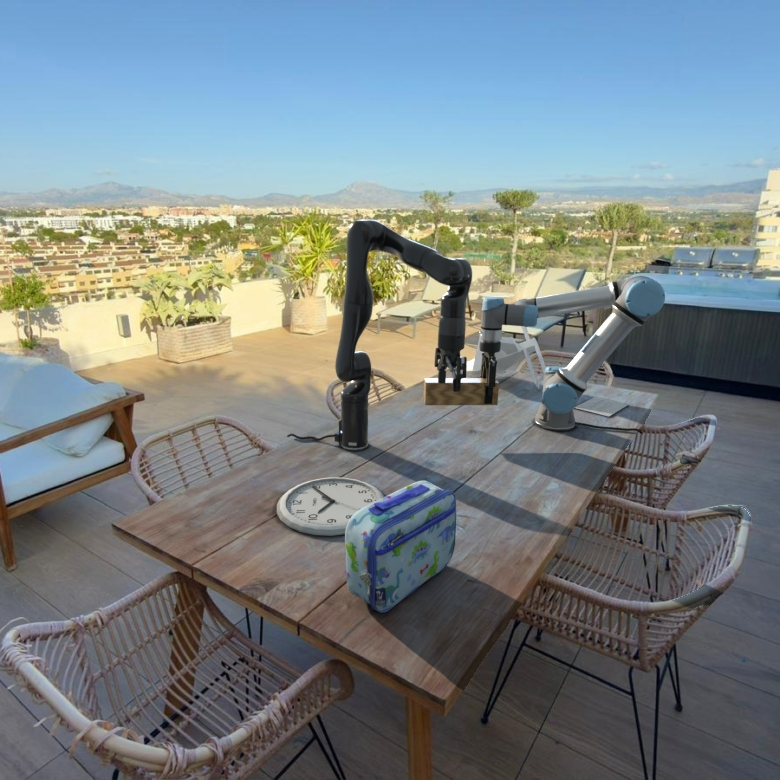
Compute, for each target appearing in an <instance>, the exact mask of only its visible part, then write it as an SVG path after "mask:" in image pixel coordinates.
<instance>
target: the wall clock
mask: <svg viewBox="0 0 780 780" xmlns="http://www.w3.org/2000/svg"><path fill="white" fill-rule="evenodd" d="M384 497H386V495H385V494H384V493H383V492H382V491H381V490H380V489H379V488H377V487H376V486H374V485H372V484H371V483H369V482H365V481H362V480H359V479H355V478H349V477H338V476H337V477H335V476H333V477H332V476H331V477H322V478H317V479H312V480H307V481H305V482H302V483H299V484H297V485H295V486H293V487H292V488H290V489H288V490H287V491H286V492H285V493H284V494H283V495H281V496H280V498H279V499H278V502H277V503H276V515H277V517H278V518H279V520H280V521H281V522H282V523H283V524H285V525H286V526H287V527H288V528H290V529H293V530H295V531H297V532H299V533H303V534H308V535H312V536H327V537H328V536H329V537H331V536H332V537H333V536H342V535H345V531H346V527H347V524H348V522H349V520H350V518H351V517H352V515H353V514H354V513H355V512H357V511H358V510H360V509H362V508H364V507H366V506H368V505H370V504H372V503H374V502H376V501H378V500H380V499H382V498H384Z"/></svg>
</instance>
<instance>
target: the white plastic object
mask: <svg viewBox="0 0 780 780" xmlns="http://www.w3.org/2000/svg"><path fill="white" fill-rule="evenodd" d="M521 329H522V332H523V336H524V338H525V341H522V342H519V343H518V342H516V340H515V339H514V337H513V336H510V337H505V338H501V340H500V342H501V348H500V351H499V352H496V353H495V357H496V361H497V366H496V376H500V375H502V374H505V373H506V372H507V370H508V369H509V368H511V367H512V366H513V365H515V364H517V363H518V362H520V361H521V360H522V359H523V358H524V357H525V360H526V363H527V367H528V370H529V372H530V376H531V379H532V382H533V384H534V386H535V387H536V388H537V389H538V390H540V383H539V380H538V377H537V374H536V371H535V368H534V365H533V361H532V359H531V356H530V354H533V353H535V352H536V355H537V359H538V362H539V364H540V367H541V370H542V373H543V374H544V373H545V369H546V367H547V366H546V364H545V363H546V362H545V360H544V358H543V355H542V351H541V348H540V345H539V343H538V341H537V339H536V338H535V337H532V338H531V337H530V334H529V332H528V327H525V326H521ZM480 335H481V334H479V336H478V341H477V346H476V351H475V355H474V358H473V359H471V360H467V368H466V373H467V374H468V375H469V377H470V378H474V377H480V376H481V364H482V353H484V352H482V351H480V349H479V348H480V341H481V339H480Z"/></svg>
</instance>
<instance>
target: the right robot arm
mask: <svg viewBox="0 0 780 780" xmlns="http://www.w3.org/2000/svg"><path fill="white" fill-rule="evenodd" d="M665 302H666V293H665V290H664V287H663V286H662V284H661V283H660V282H658V280H655V279H653V278H651V277H648V276H645V275H636V276H632V277H629V278H625V279H621V280H616V281H612V282H610V283H609V284H608V285H605V286H598V287H592V288H587V289H581V290H574V291H569V292H563V293H557V294H551V295H545V296H538V297H534V298H533V297H532V298H528V299H527V298H521V299H518V300H517V301H516V302H515V303H514V304H513V303H505V299H504V298H503V297H498V296H487V297H485V298H484V299H483V300H482V305H481V306H482V307H481V317H480V318H481V319H480V331H478V334H479V336H480V339H481V341H480V348H479V349H480V351H482V352H484V353H482V364H481V376H479V378H487V385H486V386H485V388H486V389H485V404H492V399H493V388H494V387H495V382H496V380H497V379H496V378H497V374H496V366H497V361H496V357H495V353H496V352H499V351H500V348H501V342H500V340H501V339H502V335H503V326H512V327H513V326H514V327H522V326H525V327H526V328H530V327H532V328H533V327H536V326H537V325H538V319H541V318H546V317H547V318H548V317H554V316H559V315H567V314H573V313H579V312H585V311H586V312H587V311H594V310H599V309H607V308H611V309H612V312H611V313H610V314H609V315H608V316H607V318H606V319H605V320H604V321H603V323H602V324H601V326H599V327H598V329H597V330H596V331H595V332H594V334H593V335H592V336H591V337H590V338H589V339H588V341H587V342H586V343H585V344H584V345H583V347H582V348H581V349H580V350H579V351H578V353H577V354H576V355H575V356H574V357H573V359H572V360H571V361H570V363H568V365H567V366H558V365H557V366H556V365H552V366H551V365H549V366H546V369H545V373H543V384H542V394H541V402H540V405H539V407H538V410H537V411H536V413H535V417H534V424H535V425H536V426H537V427H539V428H542V429H544V430H549V431H556V432H567V431H572V430H574V429H575V428H576V425H577V426H581V427H587V428H594V429H600V430H610V431H611V430H613V431H624V432H638V433H639V434H641V435H643V434H644V432H643V431H642V430H641V429H639V428H636V427H633V428H631V427H630V428H626V427H614V426H602V425H601V426H600V425H595V424H590V423H584V422H578V421H576V418H575V417H576V416H575V413H574V409H575V408H574V407H576V406H577V404H578V402H579V399H580V397H581V396H582V395H583V394H584V393H585V392H586V391H587V389H588V386H587V385H588V381H589V380H590V379H591V378H592V376H593V375H594V374H595V373H596V372H597V371H598V370H599V369H600V367H601V366H602V365H603V364H604V363H605V362H606V360H608V359H609V357H610V356H611V355H612V354H613V353H614V352H615V350H616V349H617V348H618V347H619V345H621V343H622V342H623V341H624V339H625V338H626V337H628V335H629V334H630V333H631V332H632V330H633V329H634V328H637V327H642V326H643V325H644V324H645V323H646V321H648V319H650V318H651V317H652V316H654V315H656V314H657V313H658V312H660V310H661V309H662V308H663V306H664V304H665ZM480 334H481V335H480Z"/></svg>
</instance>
